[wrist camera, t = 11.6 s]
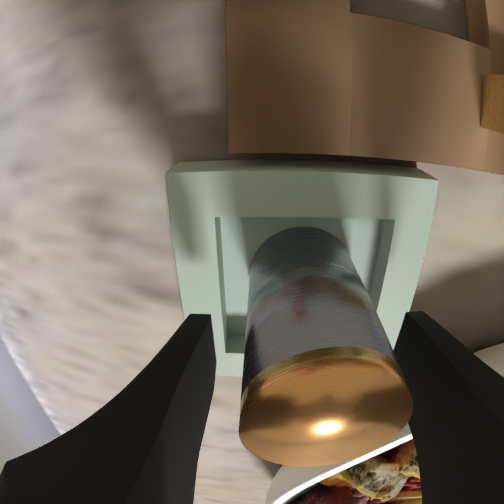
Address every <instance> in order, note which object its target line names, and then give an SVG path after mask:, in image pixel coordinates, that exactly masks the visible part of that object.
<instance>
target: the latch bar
mask: <svg viewBox="0 0 504 504" xmlns="http://www.w3.org/2000/svg"><path fill="white" fill-rule="evenodd" d="M481 127H482V128H486V129H490V130H493V131H497V132H500V133H504V75H487V74H483V95H482V116H481Z"/></svg>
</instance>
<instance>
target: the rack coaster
mask: <svg viewBox="0 0 504 504" xmlns="http://www.w3.org/2000/svg"><path fill="white" fill-rule="evenodd" d="M165 175H166V185H167V195H168V205H169V214H170V222H171V230H172V238H173V246H174V254H175V261H176V268H177V275H178V281H179V288H180V294H181V300H182V306H183V312H184V318H185V319H186V318H187V317H188V316H189V315H190V314H191V313H192V314H211V319H212V328H213V336H214V345H215V353H216V361H217V364H216V374H215V375H220V376H243V364H244V350H245V335H246V321H247V307H248V292H249V278H250V267H251V263H252V259H253V257H254V255H255V253H256V252H257V250H258V248H259V247H260V246H261V245H262V244H263V243H264V242H265V241H266V240H267V239H268V238H270V237H271V236H273V235H274V234H276V233H278V232H280V231H283V230H285V229H289V228H293V227H304V226H307V227H315V228H319V229H322V230H325V231H327V232H329V233H331V234H332V235H334V236H335V237H336V238H338V239H339V240H340V241H341V242H342V244H343V245H344V246H345V248H346V250H347V252H348V254H349V256H350V258H351V260H352V262H353V264H354V266H355V268H356V270H357V272H358V274H359V276H360V278H361V280H362V282H363V284H364V286H365V289H366V291H367V293H368V295H369V297H370V299H371V301H372V304H373V306H374V308H375V310H376V312H377V314H378V317H379V319H380V321H381V323H382V326H383V328H384V330H385V333H386V335H387V337H388V339H389V342H390V344H391V346H392V349H394V347H395V344H396V341H397V338H398V335H399V332H400V329H401V326H402V323H403V319H404V316H405V313H406V312H409V311H410V308H411V304H412V301H413V298H414V294H415V291H416V287H417V283H418V280H419V276H420V272H421V268H422V264H423V260H424V256H425V252H426V247H427V243H428V238H429V234H430V229H431V224H432V219H433V213H434V208H435V202H436V196H437V190H438V183H439V180H437V179H436V178H434V177H432V176H431V175H429V174H427V173H425V172H424V171H422V170H420V169H418V168H413V167H403V166H392V165H380V164H367V163H352V162H333V161H308V160H214V161H188V162H179V163H178V164H176V165H175V166H174V167H173V168H171V169H170V170H169V171H168V172H166V173H165Z"/></svg>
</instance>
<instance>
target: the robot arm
mask: <svg viewBox="0 0 504 504" xmlns="http://www.w3.org/2000/svg"><path fill="white" fill-rule="evenodd" d="M393 351H394V354H395V356H396V358H397V361H398V363H399V366H400V368H401V371H402V373H403V376H404V378H405V381H406V383H407V386H408V388H409V391H410V394H411V396H412V399H413V412H412V415H411V417H410V419H409V421H408V424H409V428H410V431H411V434H412V437H413V440H414V444H415V449H416V453H417V459H418V466H419V473H420V482H421V493H422V504H504V377H503V376H502V375H500V374H499V373H497V372H496V371H495V370H493V369H492V368H491V367H490V366H488V365H487V364H486V363H484V362H483V361H482V360H481V359H479V358H478V357H477V356H476V355H475V354H473V353H472V352H471V351H470V350H469V349H467V348H466V347H465V346H464V345H463V344H462V343H460V342H459V341H458V340H457V339H456V338H455V337H453V336H452V335H451V334H450V333H449V332H448V331H446V330H445V329H444V328H443V327H442V326H441V325H439V324H438V323H437V322H436V321H435V320H433V319H432V318H431V317H430V316H428V315H427V314H426V313H424V312H423V311H416V312H406V313H405V316H404V319H403V323H402V326H401V329H400V332H399V335H398V338H397V341H396V344H395V347H394V349H393ZM216 364H217V361H216V353H215V345H214V336H213V328H212V319H211V314H192V313H191V314H190V315H189V316H188V317H187V318H186V319H185V320H184V322H183V323H182V324H181V326H180V327H179V328H178V329H177V331H176V332H175V333H174V335H173V336H172V337H171V338H170V339H169V341H168V342H167V343H166V344H165V346H164V347H163V348H162V349H161V350H160V351H159V352H158V354H157V355H156V356H155V357H154V358H153V359H152V361H151V362H150V363H149V364H148V365H147V366H146V367H145V368H144V369H143V370H142V371H141V372H140V373H139V374H138V375H137V376H136V377H135V378H134V379H133V380H132V381H131V382H130V383H129V384H128V385H127V386H126V387H125V388H124V389H123V390H122V391H121V392H120V393H119V394H117V395H116V396H115V397H114V398H113V399H112V400H110V401H109V402H108V403H107V404H106V405H105V406H103V407H102V408H101V409H99V410H98V411H97V412H95V413H94V414H93V415H91V416H90V417H89V418H87V419H86V420H85V421H83V422H82V423H80V424H79V425H77V426H76V427H74V428H73V429H71V430H69V431H68V432H66V433H64V434H63V435H61V436H60V437H58V438H56V439H54V440H53V441H51V442H49V443H47V444H45V445H43V446H41V447H39V448H37V449H35V450H33V451H31V452H28V453H26V454H24V455H22V456H19V457H17V458H15V459H12V460H9V461H7V462H6V464H5V465H4V468H3V470H2V472H1V474H0V504H193V500H194V489H195V480H196V471H197V462H198V457H199V451H200V447H201V443H202V438H203V434H204V430H205V426H206V421H207V417H208V413H209V409H210V404H211V400H212V396H213V391H214V383H215V374H216Z"/></svg>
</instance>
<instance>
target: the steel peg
mask: <svg viewBox="0 0 504 504" xmlns="http://www.w3.org/2000/svg"><path fill="white" fill-rule="evenodd" d="M412 412H413V399H412V396H411V394H410V391H409V388H408V386H407V383H406V381H405V378H404V376H403V373H402V371H401V368H400V366H399V363H398V361H397V358H396V356H395V354H394V351H393V349H392V346H391V344H390V342H389V339H388V337H387V335H386V333H385V330H384V328H383V326H382V323H381V321H380V319H379V317H378V314H377V312H376V310H375V308H374V306H373V304H372V301H371V299H370V297H369V295H368V293H367V291H366V289H365V286H364V284H363V282H362V280H361V278H360V276H359V274H358V272H357V270H356V268H355V266H354V264H353V262H352V260H351V258H350V256H349V254H348V252H347V250H346V248H345V246H344V245H343V244H342V242H341V241H340V240H339V239H338V238H336V237H335V236H334V235H332V234H331V233H329V232H327V231H325V230H322V229H319V228H315V227H307V226H304V227H293V228H289V229H285V230H283V231H280V232H278V233H276V234H274V235H273V236H271V237H270V238H268V239H267V240H266V241H265V242H264V243H263V244H262V245H261V246H260V247H259V248H258V250H257V252H256V253H255V255H254V257H253V259H252V263H251V267H250V278H249V292H248V307H247V321H246V335H245V350H244V364H243V378H242V393H241V407H240V422H239V437H240V440H241V442H242V444H243V445H244V446H245V448H246V449H248V450H249V451H250V452H251V453H253V454H254V455H256V456H257V457H259V458H261V459H264V460H266V461H269V462H273V463H276V464H281V465H287V466H296V467H315V466H325V465H332V464H337V463H341V462H345V461H349V460H352V459H355V458H358V457H361V456H363V455H365V454H368V453H370V452H372V451H374V450H376V449H378V448H379V447H381V446H383V445H384V444H386V443H387V442H389V441H390V440H391V439H393V438H394V437H395V436H396V435H397V434H398V433H399V432H400V431H401V430H402V429H403V428H404V427H405V425H406V424H407V423H408V421H409V419H410V417H411V415H412Z"/></svg>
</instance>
